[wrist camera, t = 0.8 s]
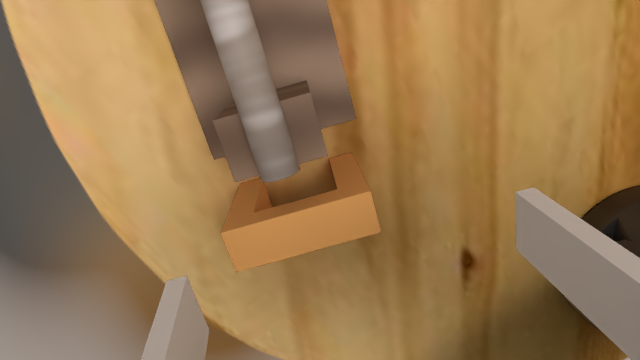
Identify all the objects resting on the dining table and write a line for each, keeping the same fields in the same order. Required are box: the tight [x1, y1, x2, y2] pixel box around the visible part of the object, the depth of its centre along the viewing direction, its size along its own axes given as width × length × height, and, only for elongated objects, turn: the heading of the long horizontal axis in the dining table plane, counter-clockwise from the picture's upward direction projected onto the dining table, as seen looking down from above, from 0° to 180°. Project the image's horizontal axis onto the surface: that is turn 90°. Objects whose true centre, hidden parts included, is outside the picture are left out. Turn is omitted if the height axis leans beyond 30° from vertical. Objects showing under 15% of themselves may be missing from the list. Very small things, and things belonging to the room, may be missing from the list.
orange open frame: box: [221, 153, 381, 272], centre depth 32 cm, size 3×10×10 cm, turn 105°
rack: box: [155, 0, 356, 182], centre depth 27 cm, size 16×12×12 cm
